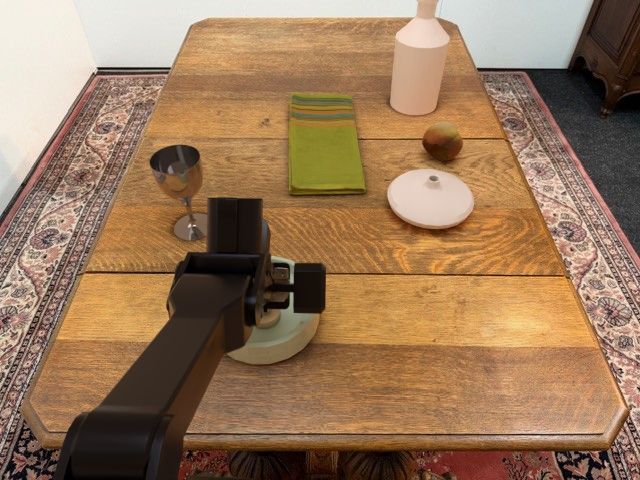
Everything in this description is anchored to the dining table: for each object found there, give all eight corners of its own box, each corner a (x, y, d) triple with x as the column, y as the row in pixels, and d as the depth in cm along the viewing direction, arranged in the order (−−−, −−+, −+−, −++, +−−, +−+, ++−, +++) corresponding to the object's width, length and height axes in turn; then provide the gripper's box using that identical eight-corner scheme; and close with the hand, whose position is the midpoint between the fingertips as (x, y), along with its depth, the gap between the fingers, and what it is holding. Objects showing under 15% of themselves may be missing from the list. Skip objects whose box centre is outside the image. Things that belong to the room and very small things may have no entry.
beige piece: (284, 323, 70) (278, 264, 61) (253, 333, 69) (241, 274, 60) (275, 299, 73) (268, 240, 64) (245, 308, 72) (233, 248, 63)
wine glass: (207, 244, 83) (189, 175, 72) (164, 239, 84) (140, 171, 73) (221, 214, 88) (207, 146, 77) (181, 210, 89) (161, 142, 78)
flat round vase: (378, 229, 85) (382, 199, 80) (392, 176, 95) (396, 147, 90) (468, 245, 82) (477, 214, 77) (472, 189, 92) (481, 159, 87)
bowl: (298, 379, 64) (297, 360, 61) (191, 349, 68) (183, 329, 64) (332, 289, 75) (332, 268, 72) (238, 267, 79) (233, 246, 75)
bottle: (440, 116, 112) (462, 4, 94) (390, 115, 112) (402, 4, 94) (434, 91, 120) (452, -16, 102) (387, 91, 120) (397, -16, 103)
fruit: (459, 170, 97) (467, 136, 91) (418, 165, 98) (424, 132, 92) (459, 149, 102) (466, 116, 96) (420, 145, 103) (425, 112, 98)
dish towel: (351, 102, 117) (352, 90, 114) (367, 194, 92) (368, 181, 89) (289, 104, 116) (288, 91, 114) (288, 197, 91) (286, 184, 89)
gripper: (325, 221, 51) (328, 225, 67) (156, 218, 52) (198, 223, 68) (323, 323, 51) (326, 303, 67) (154, 319, 52) (196, 300, 68)
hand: (261, 280), depth 67 cm, fingers closed on beige piece, 2 cm apart
